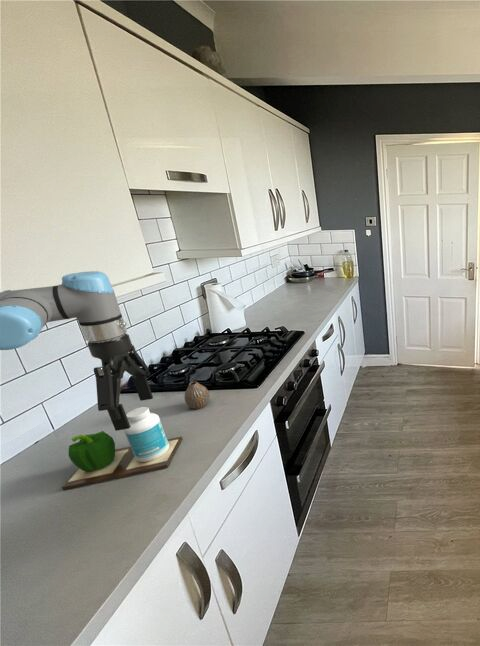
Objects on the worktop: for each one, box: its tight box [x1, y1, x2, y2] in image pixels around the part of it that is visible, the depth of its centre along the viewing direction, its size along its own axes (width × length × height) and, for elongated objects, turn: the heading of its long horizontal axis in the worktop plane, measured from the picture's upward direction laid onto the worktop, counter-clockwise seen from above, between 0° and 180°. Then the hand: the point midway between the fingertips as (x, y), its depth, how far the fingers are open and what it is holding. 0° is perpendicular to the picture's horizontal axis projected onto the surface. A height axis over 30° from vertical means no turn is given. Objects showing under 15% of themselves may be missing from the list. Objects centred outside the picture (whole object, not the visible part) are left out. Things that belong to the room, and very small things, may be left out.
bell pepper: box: [68, 430, 116, 472], centre depth 89 cm, size 8×8×10 cm
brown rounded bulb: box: [183, 381, 210, 410], centre depth 116 cm, size 7×7×9 cm
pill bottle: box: [123, 406, 169, 462], centre depth 92 cm, size 8×7×14 cm
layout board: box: [61, 436, 184, 491], centre depth 93 cm, size 22×12×1 cm, turn 108°
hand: (135, 413), depth 90 cm, fingers open, 13 cm apart
